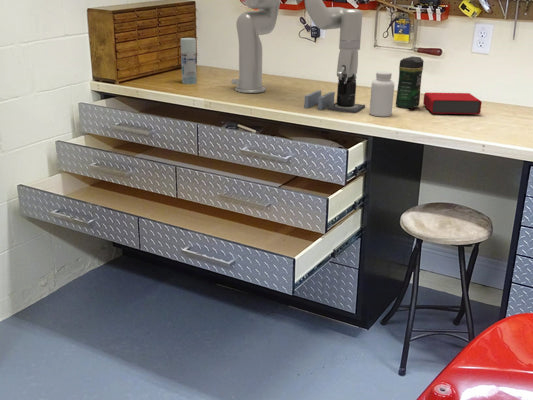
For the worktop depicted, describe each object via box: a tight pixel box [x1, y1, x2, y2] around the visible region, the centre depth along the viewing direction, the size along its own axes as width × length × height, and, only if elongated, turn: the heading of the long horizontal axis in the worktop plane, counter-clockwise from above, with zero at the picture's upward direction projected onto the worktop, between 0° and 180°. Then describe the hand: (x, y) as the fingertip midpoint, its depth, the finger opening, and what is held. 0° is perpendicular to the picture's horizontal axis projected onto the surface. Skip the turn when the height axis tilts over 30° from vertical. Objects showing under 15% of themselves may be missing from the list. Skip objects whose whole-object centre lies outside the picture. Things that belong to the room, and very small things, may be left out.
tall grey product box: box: [180, 37, 198, 85], centre depth 273 cm, size 6×6×20 cm
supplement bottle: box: [336, 74, 357, 107], centre depth 234 cm, size 7×7×12 cm
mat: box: [326, 102, 366, 114], centre depth 236 cm, size 11×11×1 cm
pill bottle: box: [369, 71, 395, 118], centre depth 226 cm, size 8×8×15 cm
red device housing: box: [423, 92, 483, 115], centre depth 239 cm, size 18×14×5 cm
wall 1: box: [303, 89, 322, 109], centre depth 241 cm, size 2×13×4 cm, turn 153°
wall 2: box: [317, 91, 336, 111], centre depth 239 cm, size 2×13×4 cm, turn 153°
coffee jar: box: [395, 56, 424, 109], centre depth 239 cm, size 10×8×19 cm
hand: (346, 92), depth 235 cm, fingers open, 9 cm apart
